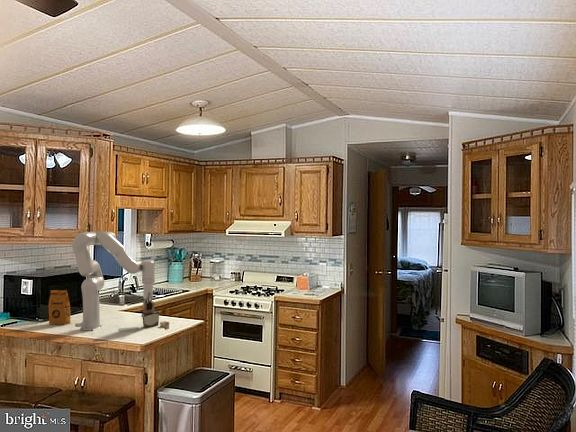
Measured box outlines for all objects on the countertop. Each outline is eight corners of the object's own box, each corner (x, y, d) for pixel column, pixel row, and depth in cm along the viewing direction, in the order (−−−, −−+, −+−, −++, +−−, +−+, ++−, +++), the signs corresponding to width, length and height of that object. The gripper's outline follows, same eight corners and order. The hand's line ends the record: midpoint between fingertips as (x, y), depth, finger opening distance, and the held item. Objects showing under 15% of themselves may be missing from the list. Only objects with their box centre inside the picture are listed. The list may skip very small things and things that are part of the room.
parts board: (118, 334, 279) (118, 332, 279) (118, 330, 288) (118, 328, 288) (140, 332, 284) (140, 330, 284) (138, 328, 293) (138, 326, 293)
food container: (154, 325, 301) (154, 309, 301) (160, 326, 297) (160, 311, 297) (137, 329, 291) (137, 313, 291) (143, 330, 287) (142, 314, 287)
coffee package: (64, 326, 302) (64, 291, 302) (46, 325, 304) (46, 291, 304) (73, 322, 312) (73, 289, 312) (55, 322, 314) (55, 288, 314)
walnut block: (144, 313, 290) (144, 303, 290) (143, 311, 296) (143, 301, 296) (154, 312, 293) (154, 302, 293) (153, 310, 298) (153, 301, 298)
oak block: (163, 329, 290) (163, 323, 290) (160, 328, 293) (160, 322, 293) (169, 328, 293) (169, 322, 293) (166, 327, 296) (166, 321, 296)
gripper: (140, 279, 301) (141, 306, 301) (143, 282, 285) (143, 311, 285) (153, 278, 304) (153, 305, 304) (156, 282, 288) (156, 310, 288)
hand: (148, 308), depth 294 cm, fingers open, 9 cm apart
